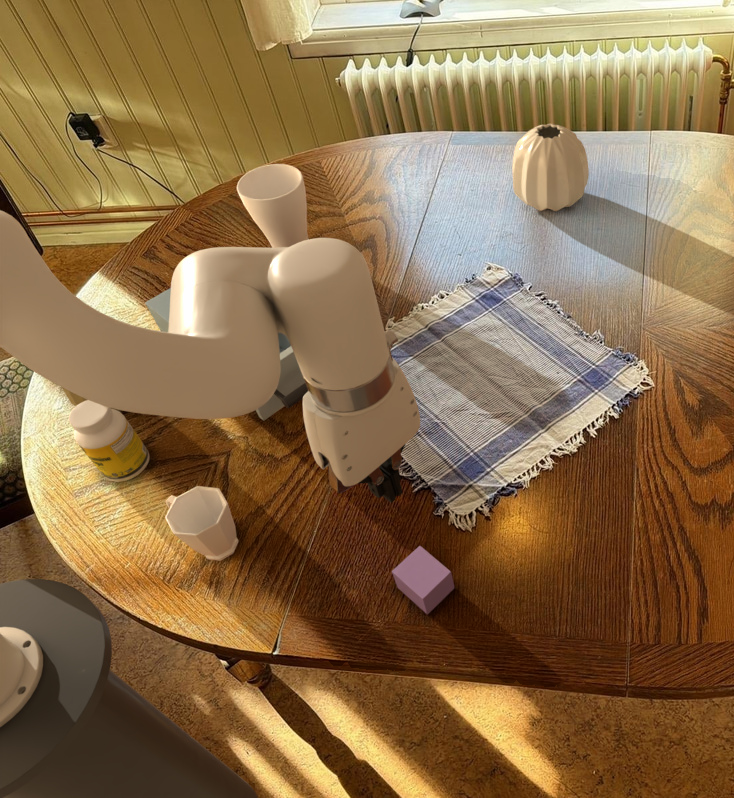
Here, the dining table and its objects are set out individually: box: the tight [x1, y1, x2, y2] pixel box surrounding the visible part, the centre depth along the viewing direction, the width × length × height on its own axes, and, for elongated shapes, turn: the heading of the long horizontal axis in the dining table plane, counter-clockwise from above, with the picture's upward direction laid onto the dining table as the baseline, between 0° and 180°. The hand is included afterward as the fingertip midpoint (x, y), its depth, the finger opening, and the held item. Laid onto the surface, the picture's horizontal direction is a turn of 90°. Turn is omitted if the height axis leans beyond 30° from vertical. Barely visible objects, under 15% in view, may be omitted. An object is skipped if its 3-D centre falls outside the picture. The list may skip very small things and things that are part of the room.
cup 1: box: [164, 485, 240, 561], centre depth 90 cm, size 7×10×8 cm
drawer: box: [255, 333, 308, 422], centre depth 105 cm, size 18×11×8 cm, turn 49°
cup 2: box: [236, 163, 309, 248], centre depth 125 cm, size 10×10×14 cm
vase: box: [511, 123, 590, 212], centre depth 133 cm, size 14×14×13 cm
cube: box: [391, 545, 455, 615], centre depth 86 cm, size 4×5×4 cm
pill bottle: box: [68, 400, 150, 483], centre depth 96 cm, size 6×6×11 cm
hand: (387, 490), depth 78 cm, fingers closed
